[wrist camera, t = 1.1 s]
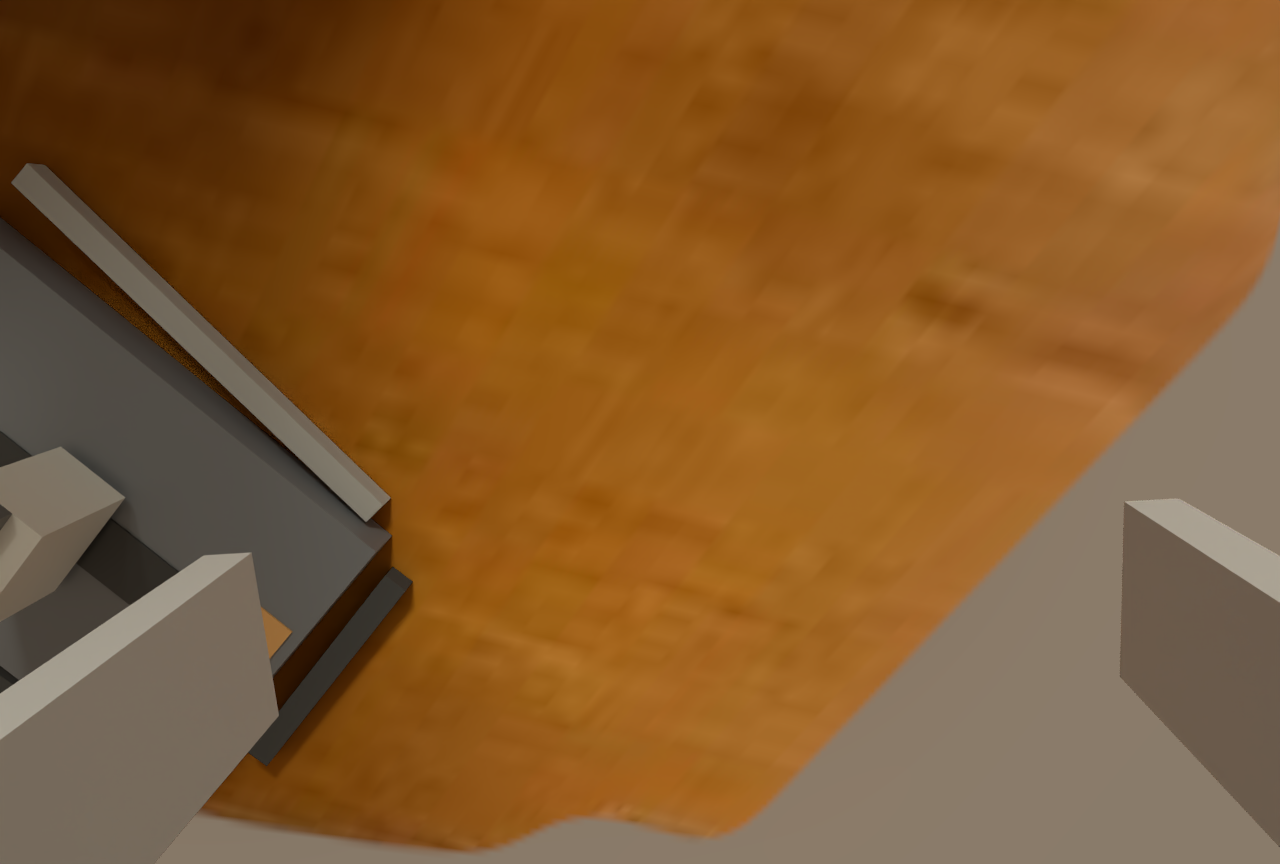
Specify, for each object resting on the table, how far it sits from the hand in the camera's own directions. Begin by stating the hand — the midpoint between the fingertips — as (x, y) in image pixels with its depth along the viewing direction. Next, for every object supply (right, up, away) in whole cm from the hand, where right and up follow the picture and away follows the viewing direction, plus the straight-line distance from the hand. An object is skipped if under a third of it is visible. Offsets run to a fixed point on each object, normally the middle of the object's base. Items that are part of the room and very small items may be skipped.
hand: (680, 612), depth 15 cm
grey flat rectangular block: (-23, 0, +25) cm, 34 cm away
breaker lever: (-23, -1, +23) cm, 32 cm away
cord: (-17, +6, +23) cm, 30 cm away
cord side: (-13, -7, +26) cm, 30 cm away
